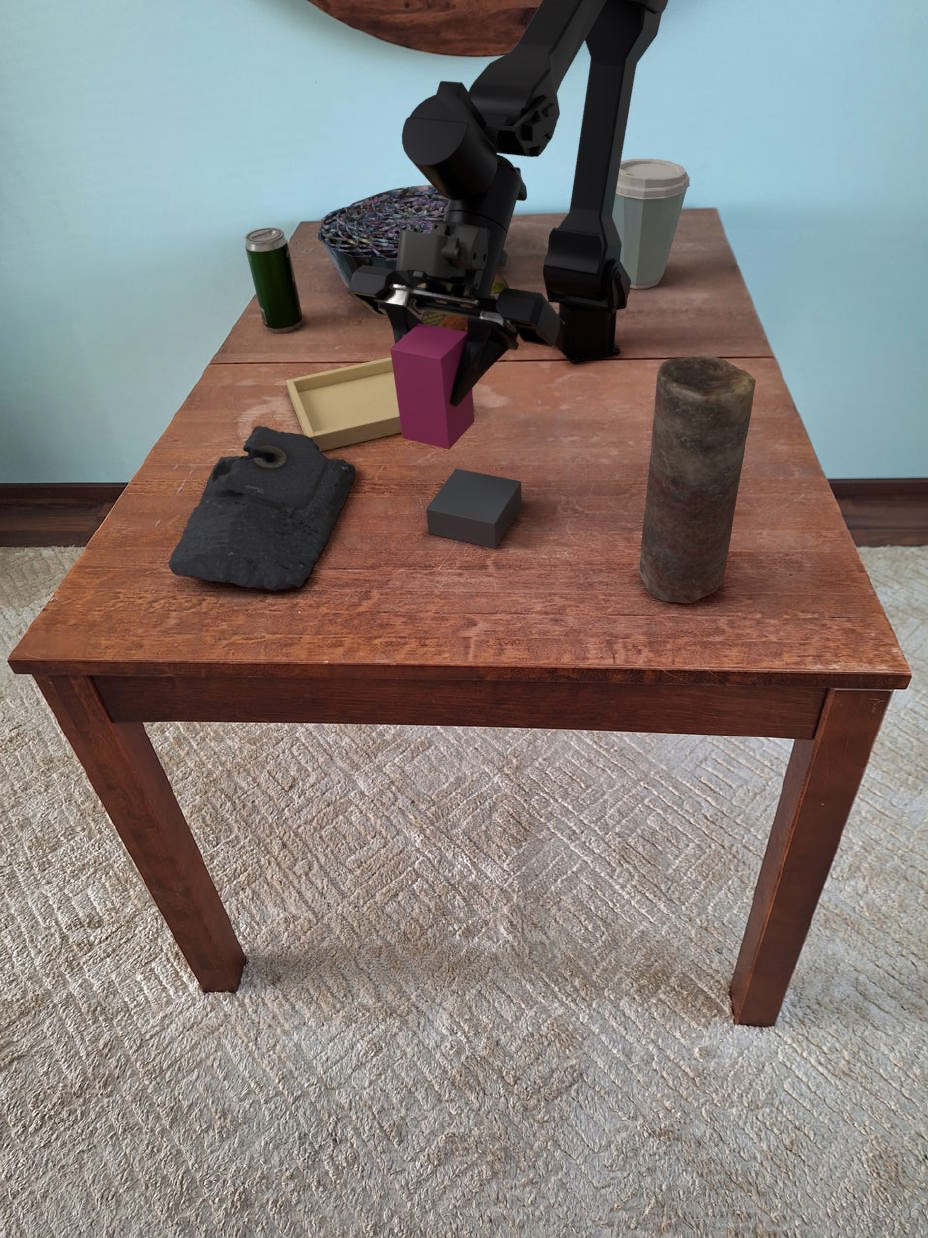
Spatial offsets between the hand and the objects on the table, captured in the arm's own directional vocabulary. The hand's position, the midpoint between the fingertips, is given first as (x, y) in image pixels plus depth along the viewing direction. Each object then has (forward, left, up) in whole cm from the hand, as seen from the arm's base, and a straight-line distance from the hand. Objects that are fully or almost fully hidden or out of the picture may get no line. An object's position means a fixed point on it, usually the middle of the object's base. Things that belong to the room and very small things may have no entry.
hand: (426, 399), depth 77 cm
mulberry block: (-1, -1, -4) cm, 4 cm away
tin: (-13, -33, -13) cm, 38 cm away
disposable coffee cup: (-42, -39, -13) cm, 59 cm away
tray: (+1, -22, -12) cm, 26 cm away
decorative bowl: (-14, -55, -13) cm, 58 cm away
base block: (-3, +3, -12) cm, 13 cm away
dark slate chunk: (+17, -5, -13) cm, 22 cm away
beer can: (+7, -48, -13) cm, 50 cm away
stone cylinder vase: (-17, +18, -13) cm, 28 cm away
